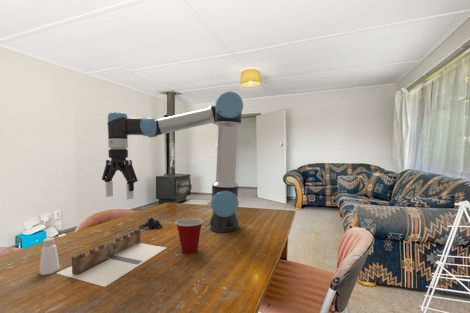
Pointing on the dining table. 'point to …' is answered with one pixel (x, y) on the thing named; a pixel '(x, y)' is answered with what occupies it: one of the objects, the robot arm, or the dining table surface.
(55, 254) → the salt shaker
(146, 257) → the card
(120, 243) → the wooden notched wall
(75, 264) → the fence fixed
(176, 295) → the dining table surface
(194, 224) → the plastic cup
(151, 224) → the stuffed animal
